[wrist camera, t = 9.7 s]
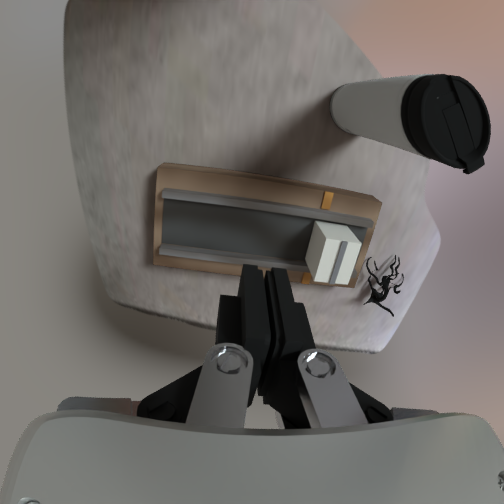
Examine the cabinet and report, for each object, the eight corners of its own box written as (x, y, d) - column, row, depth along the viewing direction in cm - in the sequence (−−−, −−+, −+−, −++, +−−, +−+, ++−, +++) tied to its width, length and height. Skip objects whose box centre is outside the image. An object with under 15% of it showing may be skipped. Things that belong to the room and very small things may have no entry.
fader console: (163, 162, 34) (154, 169, 30) (372, 195, 36) (386, 206, 33) (158, 253, 39) (150, 269, 35) (347, 276, 42) (356, 292, 38)
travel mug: (344, 144, 33) (445, 191, 16) (319, 95, 31) (411, 89, 13) (386, 124, 32) (504, 155, 14) (363, 76, 30) (478, 63, 12)
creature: (372, 241, 41) (346, 291, 42) (392, 251, 36) (363, 306, 37) (407, 262, 43) (383, 307, 44) (428, 273, 37) (401, 322, 39)
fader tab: (315, 220, 34) (327, 239, 29) (346, 225, 35) (362, 244, 30) (305, 258, 36) (314, 282, 32) (335, 262, 37) (348, 286, 32)
